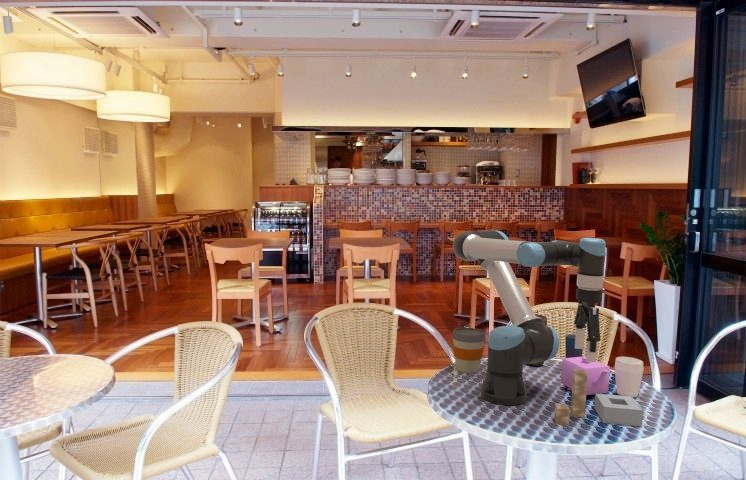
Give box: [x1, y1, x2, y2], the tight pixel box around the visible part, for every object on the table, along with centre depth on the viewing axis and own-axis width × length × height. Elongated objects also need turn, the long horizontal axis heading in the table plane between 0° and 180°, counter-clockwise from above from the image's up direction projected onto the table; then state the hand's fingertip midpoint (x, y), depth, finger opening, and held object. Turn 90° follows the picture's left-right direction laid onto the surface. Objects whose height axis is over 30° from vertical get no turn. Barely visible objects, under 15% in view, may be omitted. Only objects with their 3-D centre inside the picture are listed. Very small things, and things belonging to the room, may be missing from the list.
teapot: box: [560, 355, 611, 398], centre depth 187 cm, size 20×10×12 cm, turn 19°
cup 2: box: [614, 356, 644, 398], centre depth 187 cm, size 9×9×12 cm
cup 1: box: [564, 333, 584, 358], centre depth 207 cm, size 7×7×15 cm
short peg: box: [554, 403, 571, 426], centre depth 163 cm, size 4×4×5 cm
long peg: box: [570, 369, 587, 419], centre depth 168 cm, size 4×4×14 cm
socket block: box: [594, 393, 644, 427], centre depth 168 cm, size 11×11×5 cm
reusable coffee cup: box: [451, 326, 486, 374], centre depth 210 cm, size 13×13×15 cm
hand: (584, 355), depth 169 cm, fingers open, 13 cm apart
